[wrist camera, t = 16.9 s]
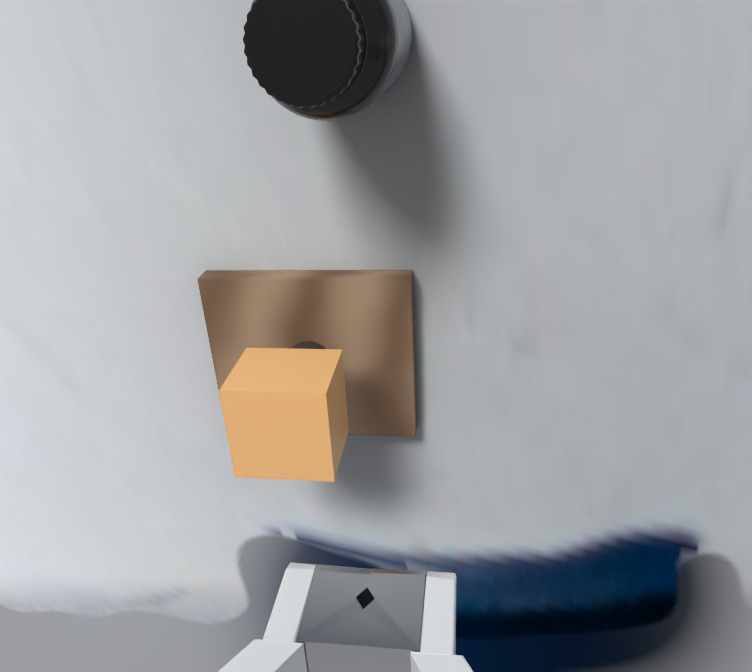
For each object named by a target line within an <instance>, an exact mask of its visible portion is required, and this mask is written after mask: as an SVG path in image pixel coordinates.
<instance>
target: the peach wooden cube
mask: <svg viewBox="0 0 752 672" xmlns="http://www.w3.org/2000/svg"><path fill="white" fill-rule="evenodd" d="M219 394H220V400H221V405H222V411H223V416H224V421H225V427H226V432H227V438H228V443H229V449H230V454H231V459H232V465H233V470H234V476H235V477H241V478H262V479H284V480H305V481H326V482H335V479H336V475H337V472H338V468H339V465H340V461H341V458H342V454H343V450H344V447H345V443H346V440H347V436H348V433H349V426H348V414H347V402H346V389H345V377H344V365H343V353H342V349H289V348H246V349H245V351H244V352H243V354H242V355H241V357H240V359H239V360H238V362H237V363H236V365H235V366H234V368H233V369H232V371H231V372H230V374H229V376H228V377H227V379H226V380H225V382H224V383H223V385H222V386H221V388H220V389H219Z"/></svg>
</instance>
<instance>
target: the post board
mask: <svg viewBox="0 0 752 672" xmlns="http://www.w3.org/2000/svg"><path fill="white" fill-rule="evenodd" d="M198 284H199V289H200V294H201V300H202V305H203V310H204V316H205V321H206V326H207V331H208V337H209V342H210V347H211V353H212V358H213V363H214V368H215V374H216V379H217V384H218V389H220V388H221V386H222V385H223V383H224V382H225V380H226V379H227V377H228V376H229V374H230V372H231V371H232V369H233V368H234V366H235V365H236V363H237V362H238V360H239V359H240V357H241V355H242V354H243V352H244V351H245V349H246V348H289V349H342V353H343V365H344V377H345V389H346V402H347V414H348V426H349V433H348V434H359V435H389V436H415V435H416V428H417V409H416V375H415V340H414V306H413V271H412V270H267V271H205V272H204V273H203V274H202V275H201V276H200V277H199V278H198ZM219 395H220V394H219Z"/></svg>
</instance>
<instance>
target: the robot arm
mask: <svg viewBox="0 0 752 672" xmlns="http://www.w3.org/2000/svg"><path fill="white" fill-rule="evenodd" d="M218 672H473V670H472V669H471V667H470V666H469V664H468V663H467V661H466V660H465V658H464V657H463V656H459V655H456V574H455V573H443V572H427V571H410V570H390V569H363V568H352V567H341V566H329V565H313V564H300V563H290V565H289V566H288V567H287V569H286V571H285V574H284V577H283V580H282V583H281V586H280V589H279V592H278V595H277V598H276V601H275V604H274V608H273V610H272V614H271V616H270V619H269V622H268V625H267V628H266V632H265V635H264V638H263V640H259V639H255V640H253V641H252V642H251V643H250V644H249V645H248V646H247V647H245V648H244V649H243V650H242V651H241V652H240V653H239V654H238V655H236V656H235V657H234V658H233V659H232V660H231V661H230V662H228V663H227V664H226V665H225V666H224V667H223V668H222V669H220V670H219V671H218Z"/></svg>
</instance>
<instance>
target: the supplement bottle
mask: <svg viewBox="0 0 752 672" xmlns="http://www.w3.org/2000/svg"><path fill="white" fill-rule="evenodd" d="M244 31H245V35H244V37H243V41H244V44H245V49H244V53H245V55H246V56H247V63H248V66H249V67H250V68H251V69H252V74H253V76H254V77H255V78H256V79H257V80H258V83H259V85H260V86H261V87H263V88H265V90H266V92H267V93H268V94H269V95H271V96H272V97H273V98H274V99H275V100H276V101H277V102H278V103H279V104H280V105H282V106H283V107H284V108H286V109H288V110H289V111H291V112H293V113H295V114H297V115H299V116H302V117H305V118H309V119H314V120H324V121H325V120H336V119H341V118H345V117H347V116H350V115H353V114H355V113H357V112H359V111H360V110H362V109H363V108H365V107H366V106H368V105H369V104H370V103H371V102H373V101H374V100H375V99H376V98H377V97H379V96H380V95H381V94H382V93H383V92H385V91H386V90H387V89H388V88H389V87H390V86H391V85H392V84H393V83H394V82H395V81H396V80H397V78H398V77H399V76H400V74H401V73H402V71H403V69H404V67H405V65H406V63H407V60H408V57H409V54H410V50H411V43H412V26H411V19H410V15H409V12H408V9H407V6H406V4H405V2H404V0H253V3H252V6H251V9H250V12H249V13H248V14H247V22H246V24H245V26H244Z"/></svg>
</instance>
